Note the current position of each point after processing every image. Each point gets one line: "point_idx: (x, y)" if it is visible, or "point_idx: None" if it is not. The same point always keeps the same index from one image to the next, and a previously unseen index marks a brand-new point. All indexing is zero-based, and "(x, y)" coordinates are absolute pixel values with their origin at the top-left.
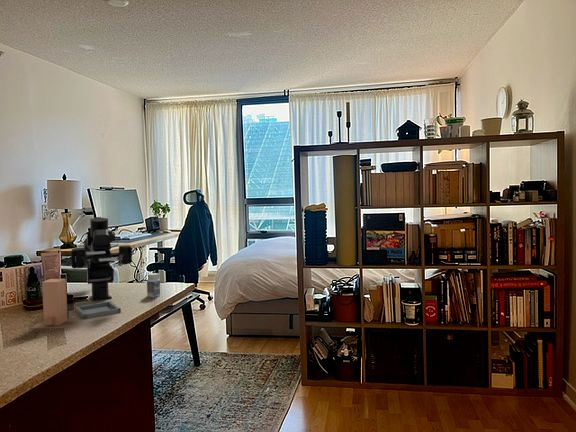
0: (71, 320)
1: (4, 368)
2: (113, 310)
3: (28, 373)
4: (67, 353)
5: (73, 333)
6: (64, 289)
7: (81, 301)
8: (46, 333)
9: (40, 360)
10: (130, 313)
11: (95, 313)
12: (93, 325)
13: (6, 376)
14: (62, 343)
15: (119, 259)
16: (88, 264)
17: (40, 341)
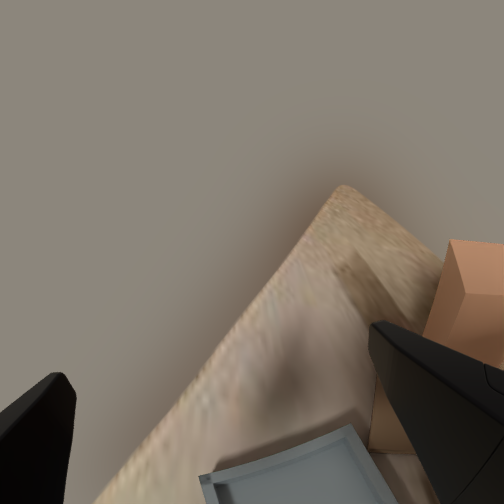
0: (390, 414)
1: (384, 212)
2: (230, 469)
3: (341, 200)
4: (312, 236)
5: (342, 324)
6: (446, 321)
7: None
8: (419, 334)
9: (346, 223)
10: (167, 485)
11: (306, 443)
12: (300, 381)
13: (365, 198)
14: (342, 272)
15: (28, 400)
16: (379, 321)
17: (400, 288)
